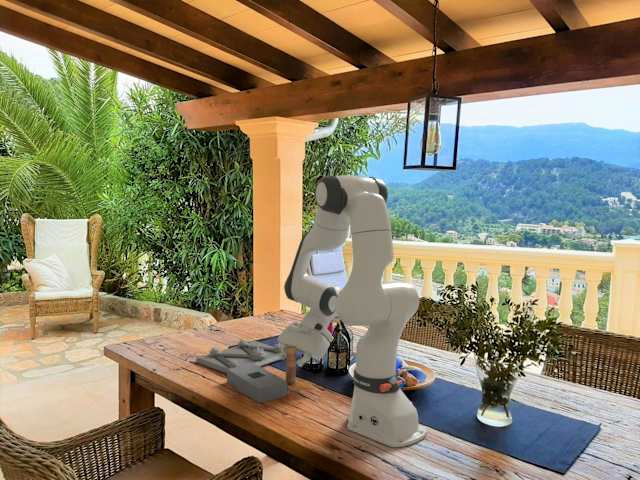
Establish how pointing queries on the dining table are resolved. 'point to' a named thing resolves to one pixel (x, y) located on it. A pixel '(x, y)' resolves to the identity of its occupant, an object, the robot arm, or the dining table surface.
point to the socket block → (257, 382)
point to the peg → (290, 364)
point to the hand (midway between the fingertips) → (289, 361)
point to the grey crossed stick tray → (241, 356)
